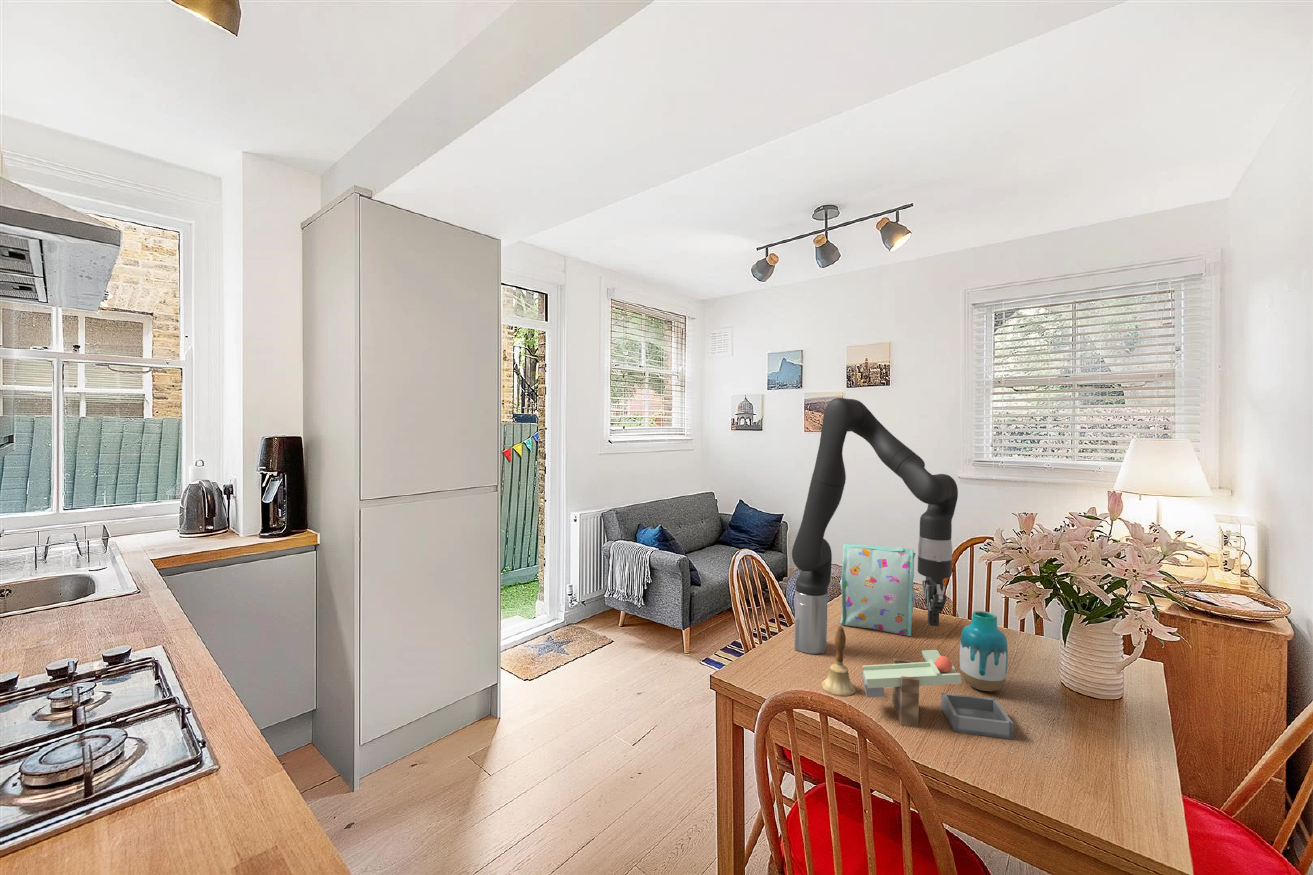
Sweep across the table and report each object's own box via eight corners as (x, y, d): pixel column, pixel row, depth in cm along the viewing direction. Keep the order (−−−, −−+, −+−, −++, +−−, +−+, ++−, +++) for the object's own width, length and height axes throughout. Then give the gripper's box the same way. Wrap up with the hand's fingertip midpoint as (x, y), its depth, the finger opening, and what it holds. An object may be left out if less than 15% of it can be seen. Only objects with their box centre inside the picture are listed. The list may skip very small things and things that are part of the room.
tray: (954, 731, 122) (954, 716, 122) (941, 706, 133) (941, 692, 132) (1012, 739, 120) (1013, 723, 119) (995, 713, 130) (995, 698, 130)
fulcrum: (900, 724, 125) (902, 678, 124) (892, 701, 135) (893, 658, 134) (918, 727, 124) (919, 680, 123) (908, 703, 134) (909, 659, 134)
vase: (990, 702, 135) (992, 625, 134) (949, 682, 144) (951, 610, 143) (1015, 692, 140) (1018, 617, 139) (974, 674, 149) (977, 604, 148)
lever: (867, 698, 128) (863, 677, 128) (858, 667, 143) (855, 648, 143) (963, 694, 123) (960, 672, 123) (944, 663, 138) (941, 643, 138)
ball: (938, 675, 126) (936, 660, 126) (934, 668, 129) (932, 653, 129) (955, 675, 125) (953, 659, 125) (950, 668, 128) (949, 653, 128)
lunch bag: (913, 621, 186) (915, 542, 185) (914, 639, 171) (916, 554, 170) (842, 610, 196) (843, 535, 194) (837, 627, 181) (838, 546, 179)
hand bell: (857, 684, 143) (858, 623, 143) (853, 699, 136) (855, 635, 135) (824, 677, 147) (825, 618, 146) (819, 691, 139) (820, 629, 139)
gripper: (912, 548, 143) (910, 614, 144) (924, 561, 130) (923, 634, 131) (943, 549, 141) (942, 616, 142) (959, 563, 128) (958, 636, 129)
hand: (933, 624), depth 136 cm, fingers closed
